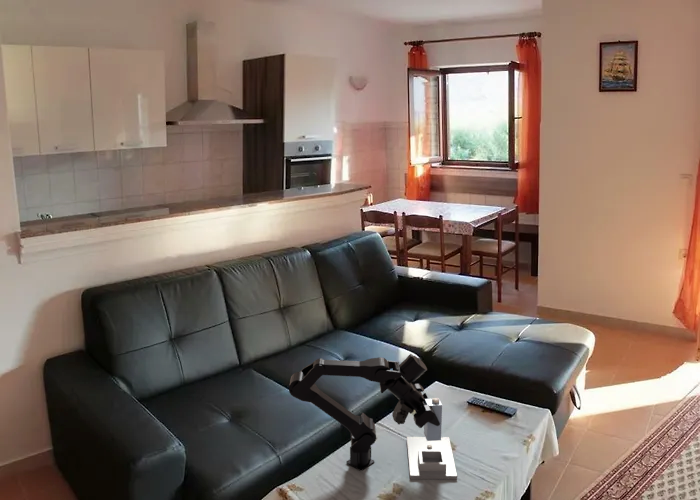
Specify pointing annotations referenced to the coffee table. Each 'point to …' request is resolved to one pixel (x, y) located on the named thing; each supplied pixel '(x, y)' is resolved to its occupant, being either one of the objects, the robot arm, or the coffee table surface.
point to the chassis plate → (430, 458)
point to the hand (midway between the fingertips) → (437, 421)
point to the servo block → (430, 429)
